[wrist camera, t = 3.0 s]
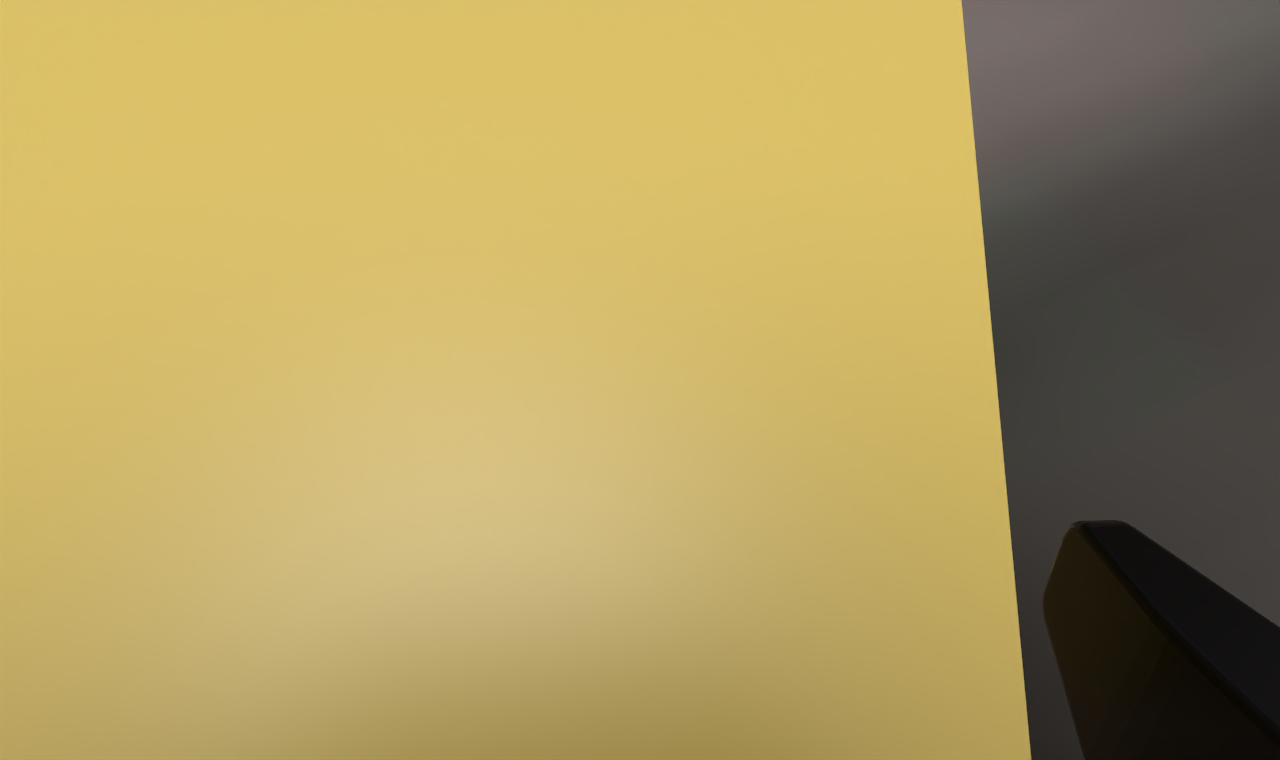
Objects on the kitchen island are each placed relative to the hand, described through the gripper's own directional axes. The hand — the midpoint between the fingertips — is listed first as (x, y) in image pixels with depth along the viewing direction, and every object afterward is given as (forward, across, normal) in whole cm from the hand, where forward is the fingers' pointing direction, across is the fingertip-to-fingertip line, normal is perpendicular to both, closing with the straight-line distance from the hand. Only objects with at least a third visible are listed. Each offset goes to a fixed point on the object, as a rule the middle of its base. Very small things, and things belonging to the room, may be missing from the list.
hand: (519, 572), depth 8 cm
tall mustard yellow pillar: (+6, 0, +5) cm, 8 cm away
